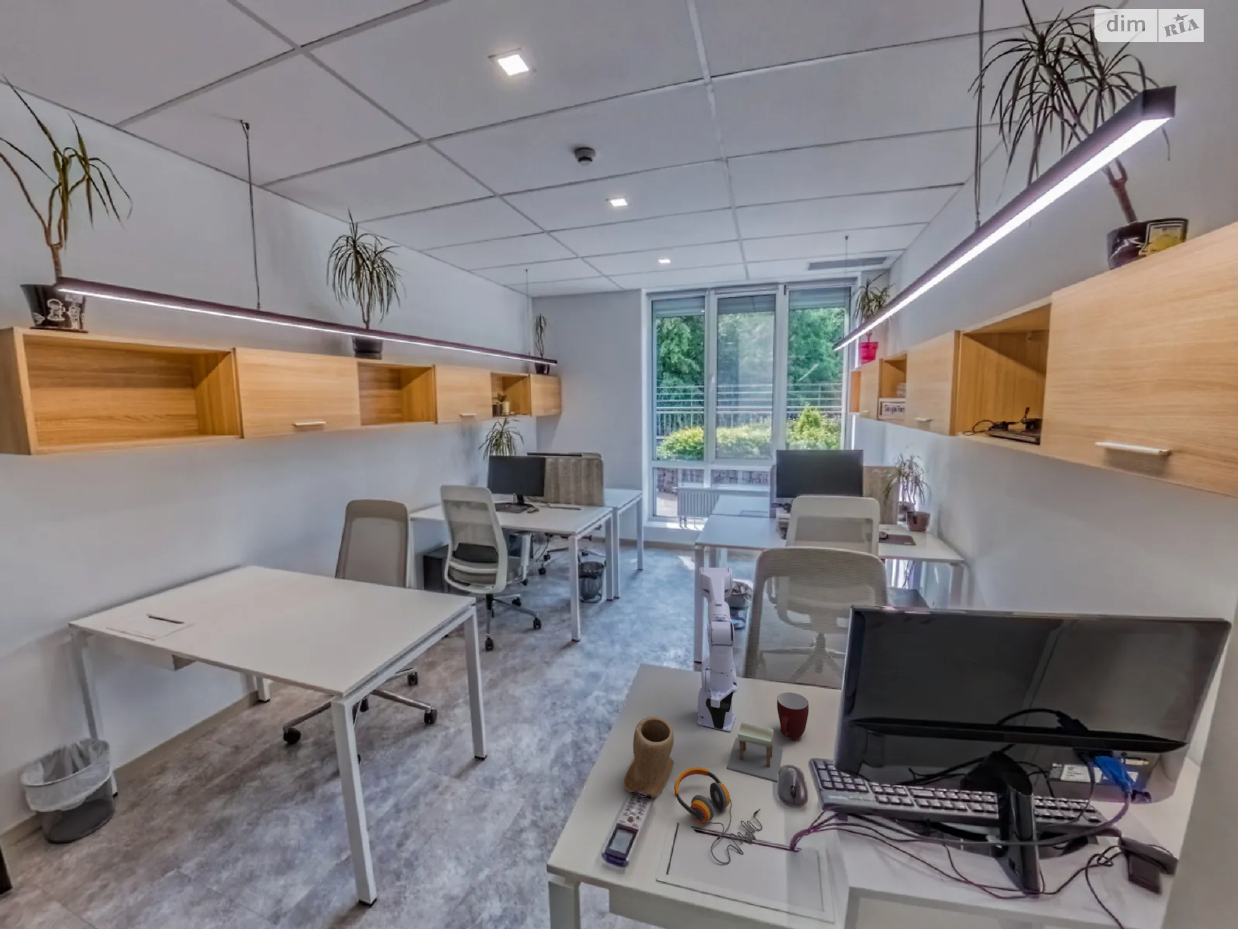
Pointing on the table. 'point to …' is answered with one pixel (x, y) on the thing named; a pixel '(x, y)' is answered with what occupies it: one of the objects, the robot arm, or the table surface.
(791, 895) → the table surface
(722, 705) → the robot arm
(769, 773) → the mat
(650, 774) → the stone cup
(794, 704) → the mug
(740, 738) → the stool
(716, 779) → the headphones
